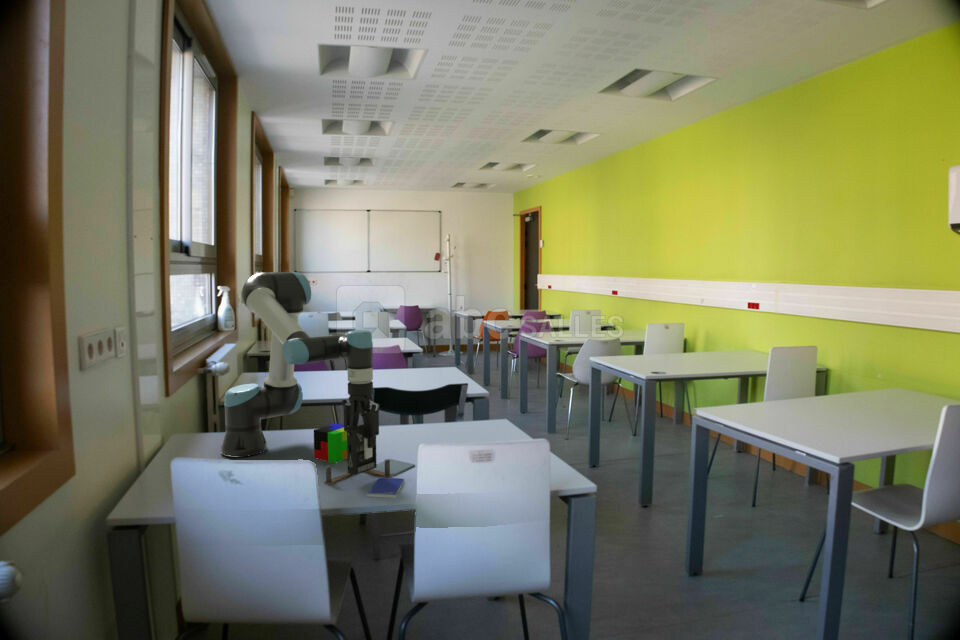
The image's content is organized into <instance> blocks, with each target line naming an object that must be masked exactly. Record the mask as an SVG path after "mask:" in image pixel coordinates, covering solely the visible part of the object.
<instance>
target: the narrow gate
mask: <svg viewBox="0 0 960 640" xmlns="http://www.w3.org/2000/svg"><path fill="white" fill-rule="evenodd" d="M389 459H390V458H388V459H386V458H385V459H384V461H385V473H384V472H380V471H376V470H372V469H371V470H368V471H366V472H365V473H364V474H368V475H372V476H376V477H379V478H392V476H391V474H390V460H389Z"/></svg>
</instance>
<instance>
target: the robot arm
mask: <svg viewBox="0 0 960 640" xmlns="http://www.w3.org/2000/svg"><path fill="white" fill-rule="evenodd" d="M311 288H312V287H311V284H310V282H309V280H308V278H307V276H306V275H304V274H303V273H302V272H296V271H293V272H292V271H282V272H281V271H279V272H277V271H276V272H275V271H274V272H272V271H271V272H268V271H267V272H258V273H255V274H253V275H251V276H250V277H248V279H246V281H245V282H244V284H243V286H242V289H241V299H242V302H243V304H244V305H245V307H246V308H247V309H248V310H249V312H251V313H253V314H255V315H257V316H258V317H259V319H261V321H262V322H263V323H264V324H265V325H266V327H267V328H268V329H269V330H270V331H271V341H270V355H269V356H270V357H269V369H268V370H269V371H268V375H267V376H266V377H265V378H264V380H263V386H260V385H259V384H258V383H245V384H239V385H236V386H233V387H230V388H229V389H228V390H226V391H225V394H224V402H223V405H224V423H225V433H224V437H223V440H222V444H221V446H220V449H221V450H220V453H221V452H222V453H223V454H225V455H231V456H248V455H253V454H257V453H260V452H262V453H264V452H265V450H266V451H267V450H268V447H267V445H268V444H267V440H266V437H265V435H264V432H263V430H262V420H264V419H269V418H274V417H275V418H276V417H279V416H280V417H281V416H287V415H290V414H294V413H296V412H297V411H298V410H299V409H300V408H301V406H302V403H303V396H304V395H303V389H302V386H301V384H300V383H299V382H298V380H297V378H296V377H294V373H295V365H304V364H310V363H317V362H326V361H332V360H333V361H334V360H346V361H347V363H346V364H347V366H346V367H347V381H348V383H347V395H349V397H347V398H346V399H343V400H342V401H341V403H342V407H343V425H344V431H347V428H349V424H350V425H353V427H356V426H359V425H358V423H359V419H360V416H361V418H362V423H363V424H364V428H365V433H366V437H365V438H364V459H368V458H370V457H372V447H373V446H374V436H376V437H377V436H379V434H380V420H379V418H380V417H379V416H380V415H379V410H380V406H381V405H380V402H378V403H376V402H374V401H373V398H372V395H373V393H374V382H373V380H374V375H373V373H374V372H373V371H374V370H373V367H374V366H373V360H374V359H373V358H374V357H373V356H374V355H373V344H374V343H373V335H372V332H371V331H369V330H367V329H365V330H363V329H356V330H355V329H354V330H353V329H352V330H348V331H347V333H346V334H343V333H330V334H329V335H325V336H323V335H322V336H313V337H310V335H309V334H307V333H306V331H304V329H303V328H302V327H301V325H299V323H298V321H299V315H301V314H302V313H303V312H304V306H306V305H308V304H309V303H310V302H311V299H312V289H311ZM350 428H352V427H351V426H350ZM263 451H264V452H263ZM260 454H261V453H260ZM257 455H258V454H257ZM253 456H254V455H253ZM248 457H249V456H248Z"/></svg>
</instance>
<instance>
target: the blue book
mask: <svg viewBox="0 0 960 640" xmlns="http://www.w3.org/2000/svg"><path fill="white" fill-rule="evenodd" d="M404 483H405V478H395V477H394V478H393V477H389V478H384V477H378V478H377V480H376V481H375V482H374V484H373V485H372V486H371V488H370V489H369V491H368V492H367V497H368V496H369V498H370V497H371V498H373V497H374V498H396V497H397V495H398V494H399V492H400V490H401V488H402V486H403V485H404ZM397 493H398V494H397Z"/></svg>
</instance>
